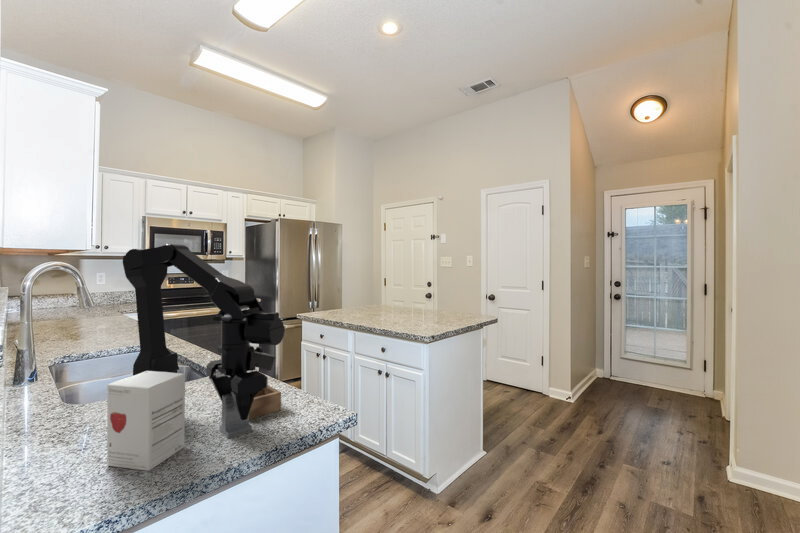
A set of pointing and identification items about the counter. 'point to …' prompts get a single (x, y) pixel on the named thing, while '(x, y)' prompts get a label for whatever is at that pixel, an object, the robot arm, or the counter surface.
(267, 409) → the square frame
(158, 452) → the supplement box
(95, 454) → the counter surface
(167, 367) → the robot arm
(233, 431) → the bracket
